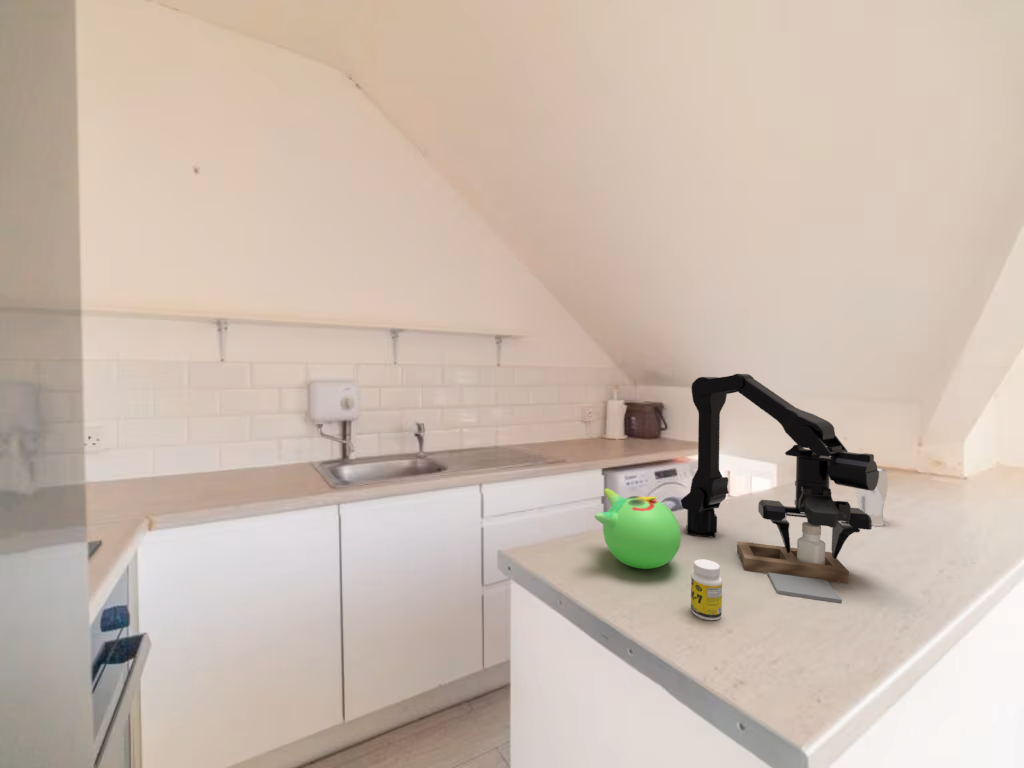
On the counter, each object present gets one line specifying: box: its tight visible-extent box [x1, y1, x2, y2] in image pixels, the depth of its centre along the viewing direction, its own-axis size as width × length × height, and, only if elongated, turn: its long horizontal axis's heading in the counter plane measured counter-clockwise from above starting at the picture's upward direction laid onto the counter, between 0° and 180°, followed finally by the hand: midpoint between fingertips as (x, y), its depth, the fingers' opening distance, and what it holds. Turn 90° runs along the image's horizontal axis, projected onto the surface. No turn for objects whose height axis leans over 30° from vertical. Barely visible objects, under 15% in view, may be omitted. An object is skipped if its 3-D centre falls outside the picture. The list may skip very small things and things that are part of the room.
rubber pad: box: [767, 572, 843, 604], centre depth 84 cm, size 10×8×1 cm
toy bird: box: [594, 488, 682, 570], centre depth 94 cm, size 18×17×15 cm
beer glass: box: [854, 467, 889, 527], centre depth 122 cm, size 7×7×15 cm
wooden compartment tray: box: [736, 540, 850, 585], centre depth 93 cm, size 18×10×2 cm, turn 71°
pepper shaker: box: [796, 521, 826, 565], centre depth 92 cm, size 4×4×10 cm
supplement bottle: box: [690, 558, 723, 621], centre depth 74 cm, size 5×5×8 cm
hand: (810, 555), depth 92 cm, fingers open, 8 cm apart
